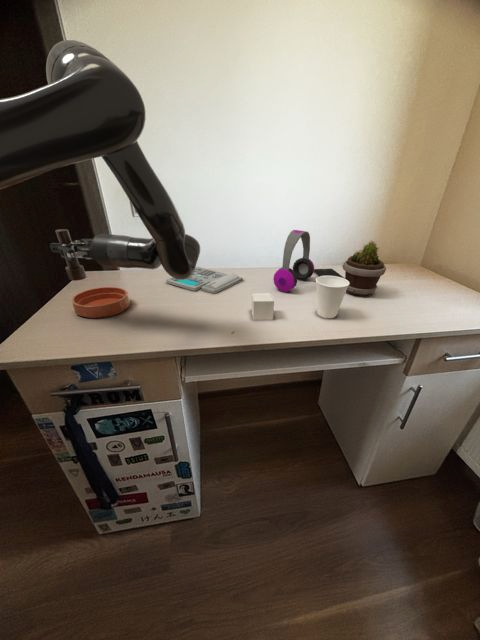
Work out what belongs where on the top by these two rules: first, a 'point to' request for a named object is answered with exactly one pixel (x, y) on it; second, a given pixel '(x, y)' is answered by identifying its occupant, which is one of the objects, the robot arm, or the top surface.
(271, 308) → the white cube
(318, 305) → the cup
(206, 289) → the office telephone
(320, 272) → the cell phone
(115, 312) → the bowl
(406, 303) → the top surface
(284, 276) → the headphones
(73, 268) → the muddler
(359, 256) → the flowerpot
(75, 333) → the top surface
